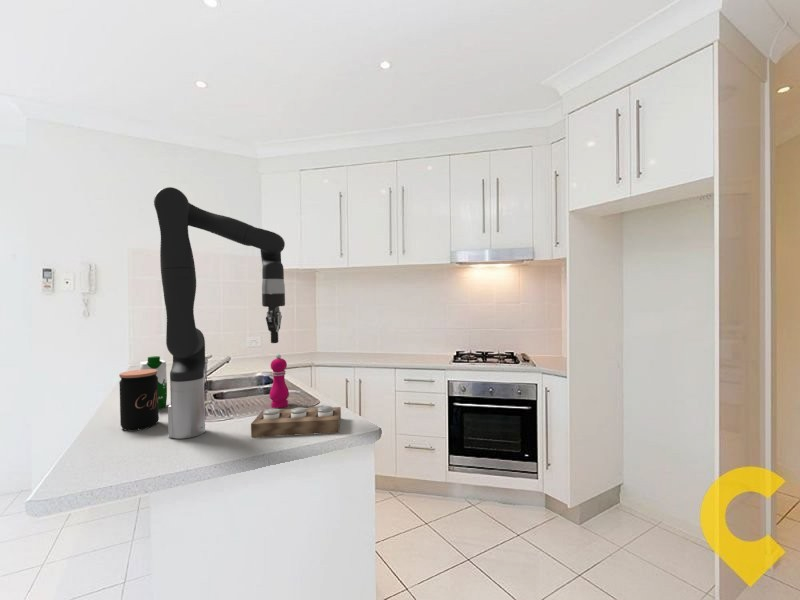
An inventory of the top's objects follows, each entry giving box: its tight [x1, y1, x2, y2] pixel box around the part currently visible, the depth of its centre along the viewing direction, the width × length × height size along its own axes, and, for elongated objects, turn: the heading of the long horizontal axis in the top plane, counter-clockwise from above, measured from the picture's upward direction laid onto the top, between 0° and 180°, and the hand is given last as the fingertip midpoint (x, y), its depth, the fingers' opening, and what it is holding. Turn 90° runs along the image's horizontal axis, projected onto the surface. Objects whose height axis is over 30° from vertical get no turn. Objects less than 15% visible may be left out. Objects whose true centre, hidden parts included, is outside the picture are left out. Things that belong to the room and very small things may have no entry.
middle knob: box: [290, 407, 307, 418], centre depth 127 cm, size 5×5×5 cm
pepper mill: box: [269, 353, 290, 409], centre depth 153 cm, size 7×7×20 cm
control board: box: [250, 406, 342, 438], centre depth 127 cm, size 26×14×4 cm, turn 96°
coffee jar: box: [118, 369, 160, 431], centre depth 131 cm, size 11×11×18 cm
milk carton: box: [139, 355, 168, 410], centre depth 154 cm, size 9×9×20 cm
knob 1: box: [262, 408, 280, 419], centre depth 126 cm, size 5×5×5 cm
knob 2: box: [317, 405, 334, 417], centre depth 128 cm, size 5×5×5 cm
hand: (274, 342), depth 136 cm, fingers closed
